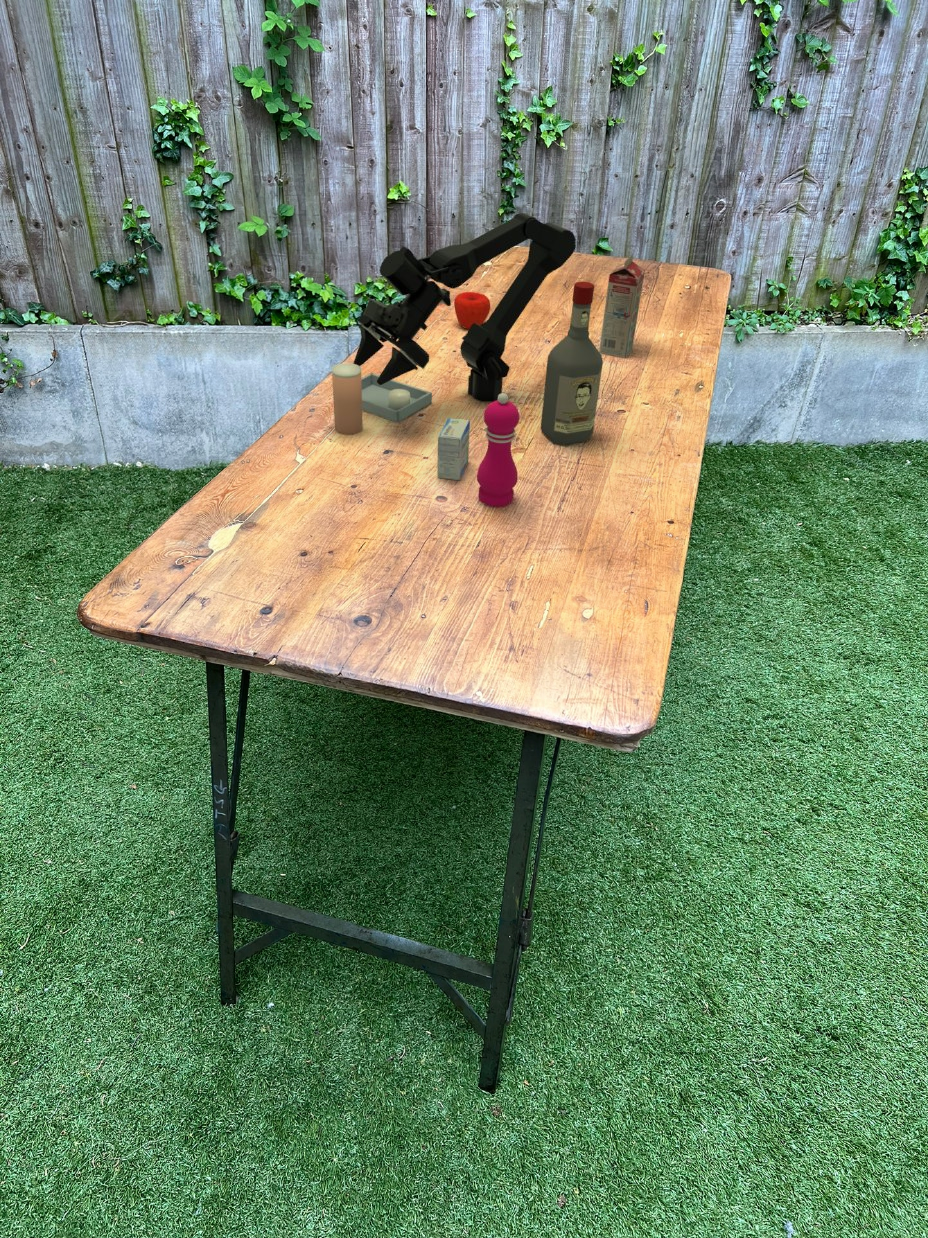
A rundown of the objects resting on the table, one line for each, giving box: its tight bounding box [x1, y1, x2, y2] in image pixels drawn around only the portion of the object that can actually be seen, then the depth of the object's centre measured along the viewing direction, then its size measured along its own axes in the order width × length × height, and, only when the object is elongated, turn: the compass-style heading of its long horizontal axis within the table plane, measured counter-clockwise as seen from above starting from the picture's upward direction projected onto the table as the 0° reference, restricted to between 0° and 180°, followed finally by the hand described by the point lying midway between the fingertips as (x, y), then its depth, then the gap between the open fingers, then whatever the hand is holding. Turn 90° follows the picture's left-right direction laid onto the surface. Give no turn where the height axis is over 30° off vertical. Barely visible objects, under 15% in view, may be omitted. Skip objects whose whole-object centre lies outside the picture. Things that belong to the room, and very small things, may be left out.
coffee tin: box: [331, 362, 364, 436], centre depth 178 cm, size 6×6×13 cm
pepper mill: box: [476, 392, 520, 508], centre depth 158 cm, size 7×7×20 cm
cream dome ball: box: [389, 389, 410, 410], centre depth 189 cm, size 4×4×3 cm
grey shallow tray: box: [361, 372, 433, 424], centre depth 191 cm, size 16×12×3 cm
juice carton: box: [598, 253, 645, 359], centre depth 215 cm, size 7×7×22 cm
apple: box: [453, 291, 491, 330], centre depth 228 cm, size 9×9×8 cm
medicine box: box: [436, 417, 471, 481], centre depth 169 cm, size 8×4×9 cm, turn 168°
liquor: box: [540, 281, 604, 447], centre depth 176 cm, size 9×9×30 cm
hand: (366, 375), depth 177 cm, fingers open, 9 cm apart
